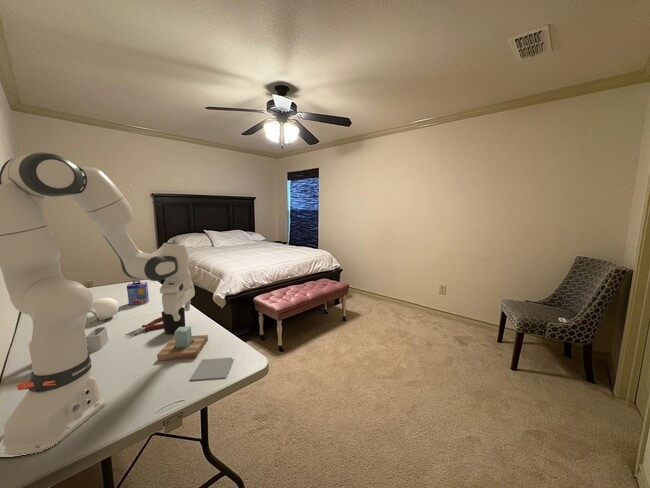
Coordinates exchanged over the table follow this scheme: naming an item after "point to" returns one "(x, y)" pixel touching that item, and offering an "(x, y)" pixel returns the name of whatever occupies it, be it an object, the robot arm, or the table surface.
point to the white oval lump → (106, 308)
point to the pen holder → (169, 322)
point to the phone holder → (95, 334)
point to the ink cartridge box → (137, 293)
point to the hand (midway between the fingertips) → (182, 315)
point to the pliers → (148, 327)
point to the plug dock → (183, 349)
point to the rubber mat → (212, 369)
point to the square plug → (183, 337)
